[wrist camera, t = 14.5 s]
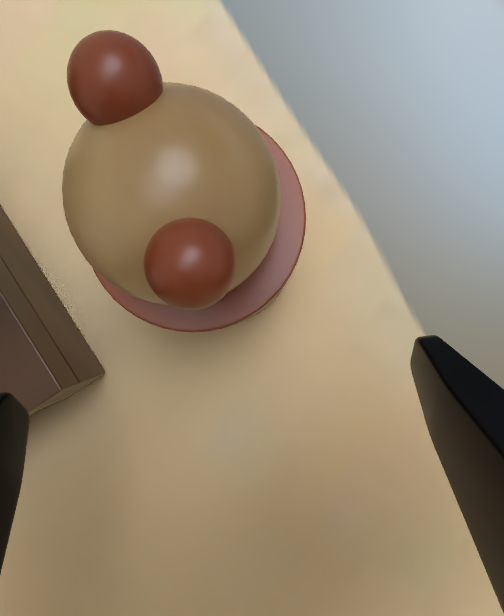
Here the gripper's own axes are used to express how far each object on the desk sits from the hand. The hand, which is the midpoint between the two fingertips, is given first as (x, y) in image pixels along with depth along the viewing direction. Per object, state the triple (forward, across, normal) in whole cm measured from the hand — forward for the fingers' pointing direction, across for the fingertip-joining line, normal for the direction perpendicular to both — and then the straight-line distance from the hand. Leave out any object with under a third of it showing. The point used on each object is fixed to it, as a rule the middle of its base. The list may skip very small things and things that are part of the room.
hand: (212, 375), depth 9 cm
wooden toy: (+7, 0, +2) cm, 8 cm away
